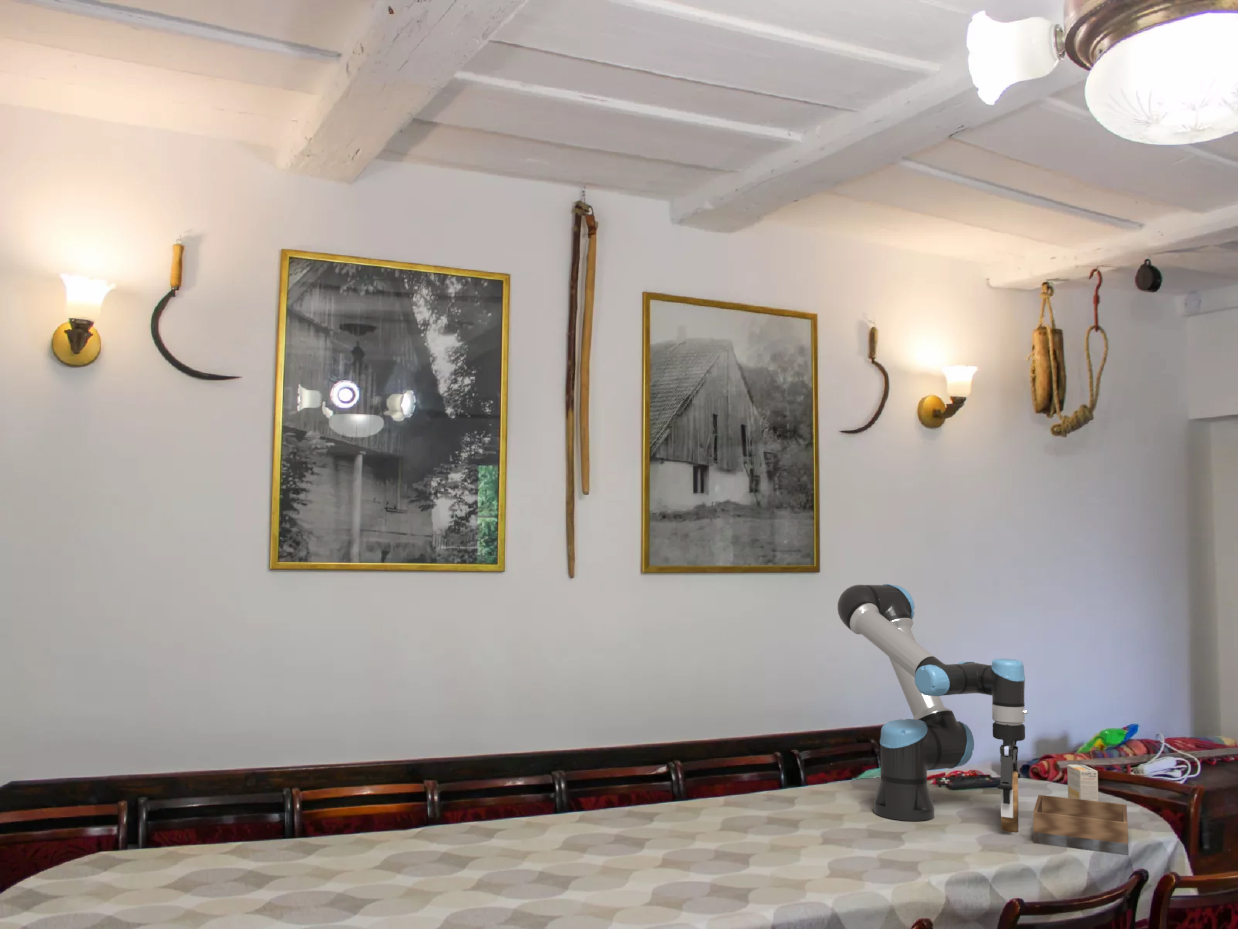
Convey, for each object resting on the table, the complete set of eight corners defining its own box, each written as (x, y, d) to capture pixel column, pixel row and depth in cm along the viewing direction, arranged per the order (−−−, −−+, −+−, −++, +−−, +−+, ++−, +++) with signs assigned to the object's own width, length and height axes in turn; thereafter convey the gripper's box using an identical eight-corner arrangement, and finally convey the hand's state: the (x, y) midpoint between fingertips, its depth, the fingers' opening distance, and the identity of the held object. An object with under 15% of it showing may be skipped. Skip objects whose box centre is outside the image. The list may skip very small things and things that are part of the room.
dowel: (1000, 831, 254) (999, 772, 255) (1001, 827, 258) (1001, 769, 259) (1017, 833, 253) (1017, 774, 254) (1019, 829, 256) (1018, 771, 257)
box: (1033, 842, 244) (1033, 812, 245) (1038, 823, 263) (1038, 794, 263) (1128, 855, 236) (1127, 823, 236) (1127, 833, 254) (1126, 804, 254)
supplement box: (1099, 823, 263) (1099, 771, 264) (1080, 823, 263) (1079, 770, 264) (1085, 815, 271) (1085, 764, 272) (1067, 814, 271) (1066, 763, 272)
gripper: (1020, 731, 244) (1021, 824, 243) (1028, 716, 267) (1029, 801, 265) (987, 728, 248) (987, 820, 246) (997, 714, 270) (998, 798, 268)
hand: (1009, 810), depth 256 cm, fingers open, 13 cm apart
